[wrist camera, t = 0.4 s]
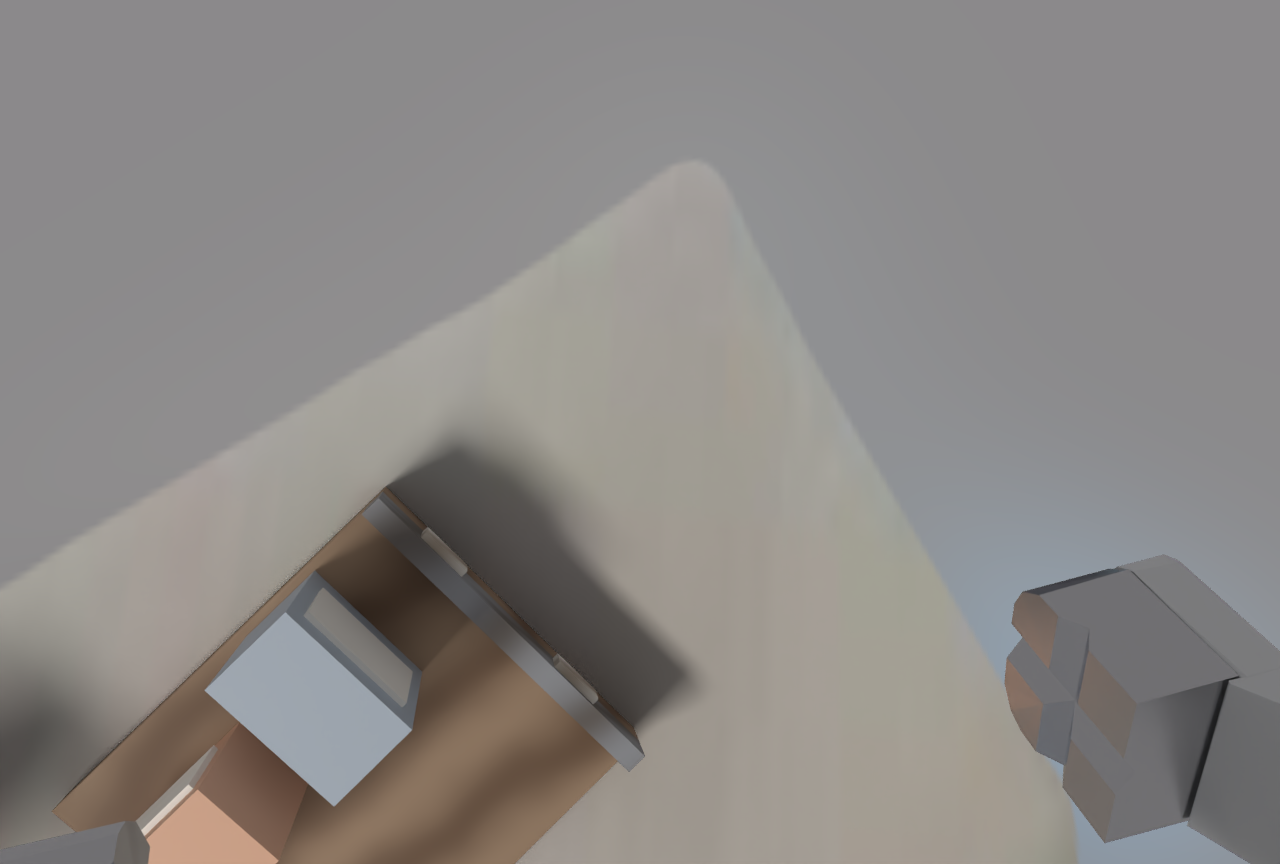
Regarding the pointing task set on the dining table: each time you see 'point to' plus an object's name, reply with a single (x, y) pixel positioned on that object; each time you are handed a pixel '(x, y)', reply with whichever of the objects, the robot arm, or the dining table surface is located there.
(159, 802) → the terracotta carton
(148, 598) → the dining table surface
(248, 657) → the slate-blue carton
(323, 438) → the dining table surface
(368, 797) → the shelf plank
